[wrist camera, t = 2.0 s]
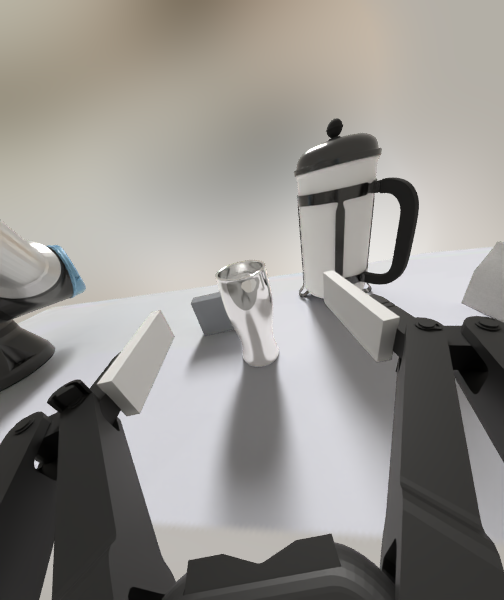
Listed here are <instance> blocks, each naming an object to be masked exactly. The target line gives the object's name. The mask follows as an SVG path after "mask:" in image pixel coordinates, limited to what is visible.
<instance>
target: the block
mask: <svg viewBox="0 0 504 600" xmlns="http://www.w3.org/2000/svg"><path fill="white" fill-rule="evenodd" d="M191 305H192V307H193V310H194V312H195V314H196V317H197V319H198V321H199V324H200V326H201V328H202V331H203V333H204V335H205V336H207V335H212V334H216V333H221V332H225V331H230V330H235V329H234V327H233V326H232V324H231V322H230V320H229V318H228V316H227V314H226V312H225V309H224V306H223V303H222V300H221V297H220V292H218V293H213V294H209V295H204V296H200V297H195V298H193V300H192V302H191Z"/></svg>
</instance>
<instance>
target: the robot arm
mask: <svg viewBox="0 0 504 600" xmlns="http://www.w3.org/2000/svg"><path fill="white" fill-rule="evenodd" d="M323 284H324V303H325V304H326V305H327V307H328V308H329V309H330V310H331V311H332V312H333V313H334V314H335V316H336V317H337V318H338V319H339V320H340V321H341V322H342V324H343V325H344V326H345V327H346V328H347V329H348V330H349V332H350V333H351V334H352V335H353V336H354V337H355V338H356V339H357V341H358V342H359V343H360V344H361V345H362V346H363V347H364V349H365V350H366V351H367V352H368V353H369V354H370V355H371V356H372V358H373V359H374V360H375V361H376V362H377V363H378V362H383V361H387V360H391V359H392V354H393V351H394V352H395V353H396V354H397V355H398V356H399V359H398V364H397V368H396V372H397V381H396V394H395V407H394V420H393V432H392V445H391V458H390V471H389V483H388V496H387V509H386V518H385V525H384V531H383V538H382V549H381V560H380V569H379V568H378V567H377V566H376V565H375V564H374V563H373V562H371V561H370V560H369V559H367V558H366V557H365V556H364V555H362V554H360V553H359V552H357V551H355V550H354V549H352V548H350V547H347V546H345V545H343V544H339V543H335V542H334V541H333V537H332V534H327V535H322V536H317V537H311V538H306V539H301V540H296V541H294V542H293V543H291V544H290V545H288V546H287V547H286V548H284V549H283V550H281V551H280V552H278V553H277V554H275V555H274V556H272V557H271V558H269V559H268V560H266V561H265V562H263V563H260V564H257V563H253V562H250V561H246V560H242V559H239V558H235V557H232V556H228V555H224V554H220V555H215V556H210V557H205V558H199V559H194V560H189V561H188V568H187V573H186V574H185V575H184V576H182V577H181V578H180V579H179V580H178V581H177V582H176V581H175V579H174V576H173V574H172V572H171V571H170V569H169V568H168V566H167V565H166V563H165V562H164V560H163V558H162V555H161V552H160V549H159V546H158V542H157V539H156V536H155V532H154V529H153V526H152V523H151V519H150V516H149V513H148V509H147V506H146V503H145V499H144V496H143V493H142V490H141V486H140V483H139V480H138V476H137V473H136V470H135V466H134V463H133V460H132V457H131V453H130V450H129V447H128V443H127V440H126V437H125V433H124V430H123V427H122V424H121V421H120V419H119V418H118V417H117V416H118V414H119V412H120V411H122V412H123V413H124V414H125V415H126V416H131V415H135V414H140V412H141V410H142V408H143V406H144V403H145V401H146V399H147V397H148V395H149V392H150V390H151V388H152V386H153V384H154V381H155V379H156V377H157V375H158V372H159V370H160V368H161V366H162V364H163V361H164V359H165V357H166V355H167V352H168V350H169V348H170V346H171V344H172V341H173V339H174V337H175V336H174V334H173V332H172V331H171V329H170V327H169V325H168V323H167V321H166V319H165V317H164V316H163V314H162V312H161V310H159V311H154V312H151V313H150V315H149V316H148V317H147V319H146V320H145V321H144V322H143V324H142V325H141V326H140V328H139V329H138V330H137V332H136V333H135V334H134V336H133V337H132V338H131V340H130V341H129V342H128V344H127V345H126V346H125V347H124V349H123V350H122V351H121V352H120V353H119V354H118V355H117V356H115V357H114V358H113V359H112V361H111V362H110V363H109V365H108V366H107V367H106V368H105V370H104V372H102V373H101V375H100V376H99V377H98V379H97V380H96V381H95V382H94V384H93V385H92V386H91V388H90V389H89V388H88V387H87V386H86V385H85V384H84V383H83V382H82V381H81V380H74V381H71V382H69V383H67V384H65V385H64V386H62V387H61V388H59V389H58V390H57V391H55V392H54V393H53V394H52V395H51V397H50V398H49V399H48V401H47V403H48V404H49V405H50V406H52V407H53V408H54V409H55V410H57V411H58V412H57V413H55V414H53V415H51V416H49V417H48V416H47V415H45V414H44V413H43V412H36V413H34V414H31V415H29V416H28V417H26V418H24V419H22V420H21V421H19V422H18V423H17V424H16V425H15V426H14V427H13V428H12V429H11V430H10V431H9V432H8V434H7V435H6V436H5V438H4V439H3V441H2V443H1V444H0V600H39V598H40V594H41V590H42V586H43V582H44V578H45V575H46V571H47V567H48V563H49V559H50V555H51V551H52V548H53V543H54V564H53V586H52V600H504V570H503V567H502V563H501V559H500V556H499V554H498V551H497V549H496V547H495V545H494V543H493V542H492V540H491V539H490V538H489V537H488V536H487V535H486V533H485V532H484V529H483V527H482V524H481V520H480V515H479V509H478V504H477V498H476V493H475V487H474V482H473V477H472V471H471V466H470V460H469V455H468V449H467V444H466V438H465V433H464V427H463V422H462V417H461V411H460V406H459V400H458V395H457V389H456V384H455V378H456V380H457V382H458V384H459V385H460V387H461V389H462V391H463V392H464V394H465V396H466V398H467V399H468V401H469V403H470V405H471V406H472V408H473V410H474V412H475V413H476V415H477V417H478V418H479V420H480V422H481V424H482V425H483V427H484V429H485V431H486V432H487V434H488V436H489V438H490V439H491V441H492V443H493V445H494V446H495V448H496V450H497V452H498V453H499V455H500V457H501V458H502V460H503V462H504V322H502V321H499V320H497V319H494V318H489V317H481V316H473V317H468V318H466V319H465V320H464V322H463V325H462V326H443V325H442V324H440V323H439V322H437V321H435V320H432V319H428V318H419V317H417V318H415V317H413V316H412V315H410V314H408V313H407V312H405V311H404V310H402V309H401V308H399V307H398V306H395V305H394V304H393V303H391V302H390V301H388V300H387V299H385V298H384V297H381V296H378V295H375V294H372V295H368V294H366V293H365V292H363V291H362V290H360V289H359V288H358V287H356V286H355V285H353V284H352V283H350V282H349V281H348V280H346V279H345V278H343V277H342V276H340V275H339V274H338V273H336V272H335V271H333V270H332V271H327V272H323ZM85 289H86V287H85V284H84V282H83V280H82V279H81V277H80V276H79V274H78V272H77V270H76V268H75V267H74V265H73V263H72V262H71V260H70V259H69V257H68V256H67V254H66V253H65V251H64V250H63V249H62V248H61V247H60V246H58V245H53V246H50V245H48V246H43V245H41V244H39V243H36V242H33V241H30V240H25V239H23V238H22V237H20V236H19V235H18V234H17V233H16V232H14V231H13V230H12V229H11V228H10V227H8V226H7V225H6V224H5V223H4V222H2V221H1V220H0V391H1V390H3V389H5V388H7V387H9V386H10V385H12V384H14V383H16V382H17V381H19V380H21V379H22V378H24V377H26V376H27V375H29V374H30V373H32V372H33V371H35V370H36V369H37V368H39V367H40V366H41V365H42V364H44V363H45V362H46V361H47V360H48V359H49V358H50V357H51V356H52V355H53V353H54V351H55V347H54V346H53V345H52V344H51V343H50V342H49V341H48V340H46V339H44V338H42V337H39V336H37V335H35V334H33V333H31V332H29V331H27V330H25V329H23V328H21V327H20V326H19V325H17V323H15V322H14V321H13V320H12V319H14V318H17V317H19V316H21V315H25V314H27V313H30V312H33V311H35V310H38V309H41V308H43V307H46V306H49V305H52V304H54V303H57V302H59V301H63V300H65V299H68V298H73V297H75V296H76V295H78V294H80V293H83V292H84V290H85ZM454 377H455V378H454ZM34 460H36V461H38V462H39V465H38V468H37V469H35V467H34Z"/></svg>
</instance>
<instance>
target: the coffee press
mask: <svg viewBox="0 0 504 600" xmlns="http://www.w3.org/2000/svg"><path fill="white" fill-rule="evenodd" d="M342 127H343V125H342V121H341V120H340V119H333V120H332V121H331V122H330V123H329V125H328V127H327V135H328V136H329V137H330V138H331V139H329V141H327V142H324V143H322V144H319V145H317V146H315V147H313V148H311V149H309V150H308V151H306V152H305V153H304V154H303V155H302V156H301V157H300V159H299V161H298V164H297V170H296V171H295V172H294V174H295V177H296V179H297V183H298V196H297V201H298V211H300V217H299V224H301V231H300V239H301V238H302V244H301V252H303V258H302V261H303V262H302V265H304V272H303V281H304V278H305V287H306V289H307V291H306V292H305V293H304V294H301V291H302V290H303V288H304V283H303V286H302V288H301V289H300V290H299V295H300V296H301V297H305V296H306V295H307V294H308V293H311V294H312V295H314V296H316V297H319V298H323V299H324V284H323V272H327V271H332V270H333V271H335V272H336V273H338V274H339V275H340V276H342V277H343V278H345V279H346V280H348V281H349V282H350V283H352V284H353V285H355V286H356V287H358V288H359V289H360V290H362V291H364V292H370V291H371V286H370V285H369V284H368V283H371V284H388V283H390V282H392V281H394V280H396V279H397V278H398V277H400V276H401V275H402V273H403V272H404V270H405V269H406V266H407V264H408V260H409V256H410V252H411V247H412V243H413V238H414V234H415V229H416V223H417V218H418V210H419V200H418V195H417V192H416V190H415V188H414V187H413V186H412V184H411V183H409V182H408V181H406V180H404V179H400V178H385V179H382V180H379V181H377V179H376V168H377V161H378V159H379V157H380V155H381V150H382V149H381V148H378V142H377V139H376V138H375V137H374V136H372V135H370V134H366V133H358V134H353V135H348V136H343V137H340V136H338V135H339V134H340V132H341V130H342ZM378 192H380V193H390V194H393V195H394V196H395V197H396V198H397V199H398V201H399V204H400V209H401V211H400V212H401V213H400V220H399V227H398V232H397V238H396V244H395V250H394V256H393V261H392V266H391V268H390V270H389V271H388V272H387V273H385V274H375V273H369V272H367V270H368V255H369V246H370V236H371V227H372V217H373V207H374V193H378ZM299 208H300V209H299ZM298 214H299V213H298ZM299 226H300V225H299ZM365 282H366V283H367V284H368V285H369V287H368V288H367V289H363V287H364V285H365Z"/></svg>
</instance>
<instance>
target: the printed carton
mask: <svg viewBox="0 0 504 600" xmlns="http://www.w3.org/2000/svg"><path fill="white" fill-rule="evenodd" d="M462 304H465V305H467V306H469V307H471V308H473V309H475V310H478V311H480V312H482V313H484V314H486V315H488V316H491V317H493V318H495V319H497V320H499V321H502V322H504V242H501V241H500V242H497V243H496V245H495V246H494V248H493V249H492V250H491V251H490V253H489V254H488V255H487V256H486V258H485V259H484V260H483V261H482V262H481V264H480V265H479V266H478V267H477V268H476V269H475V271H474V273H473V275H472V278H471V280H470V283H469V285H468V288H467V290H466V293H465V295H464V298H463V300H462Z"/></svg>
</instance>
